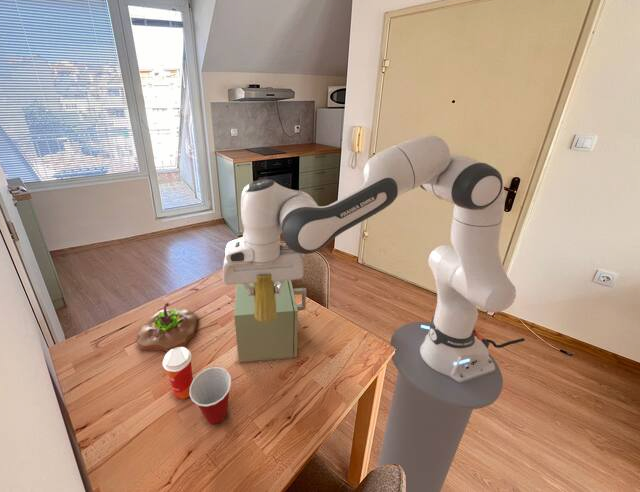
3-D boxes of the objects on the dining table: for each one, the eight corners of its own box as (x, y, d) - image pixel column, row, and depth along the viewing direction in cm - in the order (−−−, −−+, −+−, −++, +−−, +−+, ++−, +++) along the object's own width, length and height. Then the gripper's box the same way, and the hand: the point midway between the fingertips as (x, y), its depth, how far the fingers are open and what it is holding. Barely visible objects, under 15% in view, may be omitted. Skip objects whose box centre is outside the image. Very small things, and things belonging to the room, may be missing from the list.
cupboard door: (304, 314, 116) (305, 273, 108) (314, 355, 98) (316, 309, 90) (287, 315, 115) (287, 274, 107) (294, 356, 97) (294, 311, 89)
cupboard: (286, 316, 115) (286, 274, 107) (293, 357, 97) (293, 311, 89) (240, 319, 113) (236, 277, 105) (238, 362, 96) (234, 315, 88)
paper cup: (170, 382, 89) (162, 349, 84) (196, 375, 91) (190, 342, 86) (169, 406, 82) (161, 371, 77) (197, 398, 84) (191, 364, 79)
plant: (204, 314, 117) (201, 291, 112) (185, 354, 99) (180, 328, 94) (157, 310, 119) (151, 288, 114) (129, 349, 101) (122, 324, 96)
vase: (256, 325, 76) (253, 279, 70) (252, 309, 81) (249, 265, 75) (279, 320, 77) (278, 274, 71) (273, 305, 82) (272, 262, 77)
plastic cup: (192, 404, 83) (185, 374, 78) (229, 389, 87) (225, 360, 82) (198, 442, 74) (192, 411, 69) (239, 424, 78) (236, 394, 73)
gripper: (302, 238, 74) (301, 282, 80) (220, 243, 72) (226, 289, 78) (307, 250, 69) (305, 297, 74) (218, 256, 67) (224, 304, 72)
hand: (264, 293), depth 76 cm, fingers closed on vase, 5 cm apart
